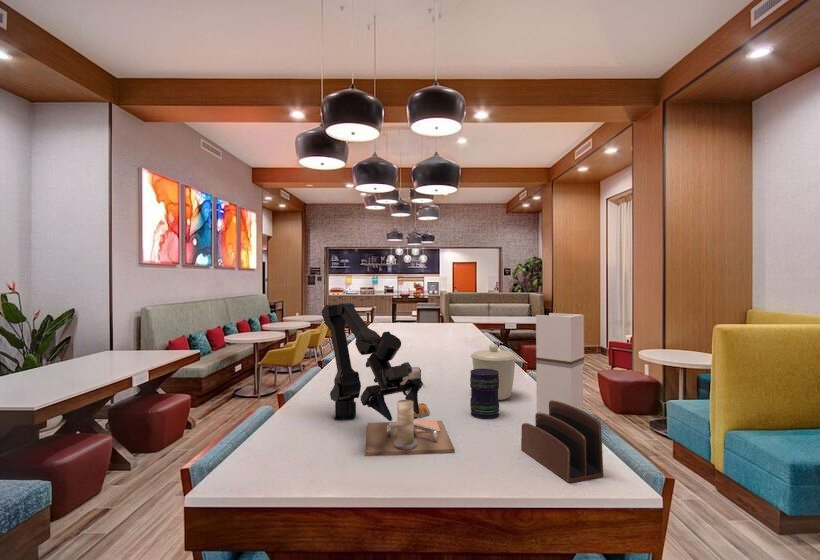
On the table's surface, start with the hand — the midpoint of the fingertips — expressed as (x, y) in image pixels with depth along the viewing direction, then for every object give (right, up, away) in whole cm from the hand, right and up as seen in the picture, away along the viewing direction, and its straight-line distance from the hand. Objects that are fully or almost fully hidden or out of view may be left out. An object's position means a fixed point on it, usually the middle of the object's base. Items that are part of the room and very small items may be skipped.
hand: (405, 416), depth 115 cm
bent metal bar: (+2, -8, +5) cm, 9 cm away
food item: (-1, -9, +68) cm, 69 cm away
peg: (0, -8, 0) cm, 8 cm away
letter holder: (+39, -9, -9) cm, 41 cm away
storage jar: (+27, -9, +29) cm, 41 cm away
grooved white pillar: (+51, -9, +21) cm, 56 cm away
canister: (+35, -9, +50) cm, 62 cm away
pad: (+5, -8, +14) cm, 17 cm away
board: (+1, -9, +8) cm, 12 cm away
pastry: (+4, -9, +29) cm, 31 cm away
